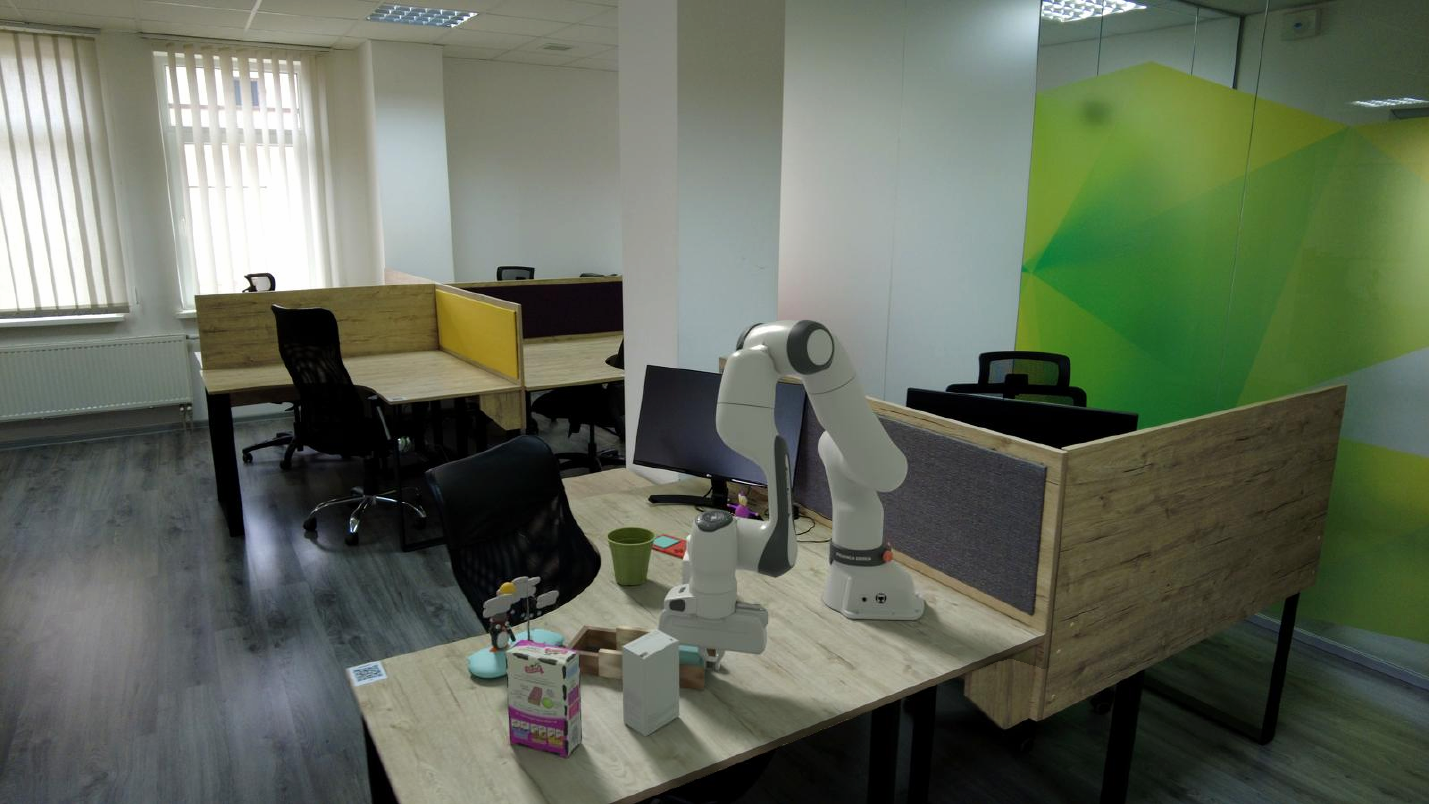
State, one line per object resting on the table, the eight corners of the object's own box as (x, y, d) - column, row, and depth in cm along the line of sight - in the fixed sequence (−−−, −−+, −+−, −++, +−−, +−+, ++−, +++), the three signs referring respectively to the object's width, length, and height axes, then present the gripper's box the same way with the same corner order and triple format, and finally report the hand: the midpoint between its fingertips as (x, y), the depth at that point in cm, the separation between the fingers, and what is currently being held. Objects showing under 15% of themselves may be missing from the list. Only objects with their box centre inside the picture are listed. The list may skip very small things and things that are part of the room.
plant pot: (644, 593, 194) (644, 547, 191) (597, 586, 197) (596, 540, 195) (664, 573, 205) (664, 529, 202) (619, 567, 208) (618, 523, 206)
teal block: (704, 666, 162) (704, 645, 161) (698, 681, 157) (698, 659, 156) (676, 663, 164) (677, 642, 163) (669, 678, 158) (669, 656, 157)
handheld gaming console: (684, 557, 213) (640, 542, 222) (684, 561, 213) (640, 546, 222) (707, 546, 220) (663, 532, 229) (707, 550, 220) (663, 537, 229)
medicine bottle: (715, 578, 202) (716, 530, 200) (712, 591, 195) (713, 541, 193) (686, 576, 203) (686, 529, 201) (682, 589, 196) (682, 540, 194)
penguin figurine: (484, 688, 155) (480, 611, 151) (455, 666, 162) (450, 592, 159) (574, 650, 168) (572, 578, 165) (544, 631, 176) (541, 563, 172)
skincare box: (657, 704, 150) (657, 626, 147) (681, 718, 146) (681, 638, 143) (621, 724, 144) (619, 644, 141) (645, 739, 140) (644, 656, 137)
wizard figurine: (760, 536, 229) (761, 494, 227) (752, 539, 227) (753, 496, 224) (730, 525, 237) (731, 484, 234) (722, 528, 235) (723, 487, 232)
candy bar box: (583, 741, 139) (581, 649, 136) (568, 759, 134) (565, 664, 131) (525, 726, 143) (521, 637, 139) (508, 743, 138) (503, 651, 135)
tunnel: (716, 660, 165) (716, 637, 164) (702, 690, 154) (702, 665, 153) (584, 643, 171) (584, 620, 170) (563, 671, 160) (562, 647, 159)
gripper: (771, 597, 157) (769, 666, 160) (664, 586, 161) (664, 653, 164) (765, 613, 151) (764, 683, 154) (655, 600, 155) (655, 669, 158)
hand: (711, 667), depth 159 cm, fingers closed
